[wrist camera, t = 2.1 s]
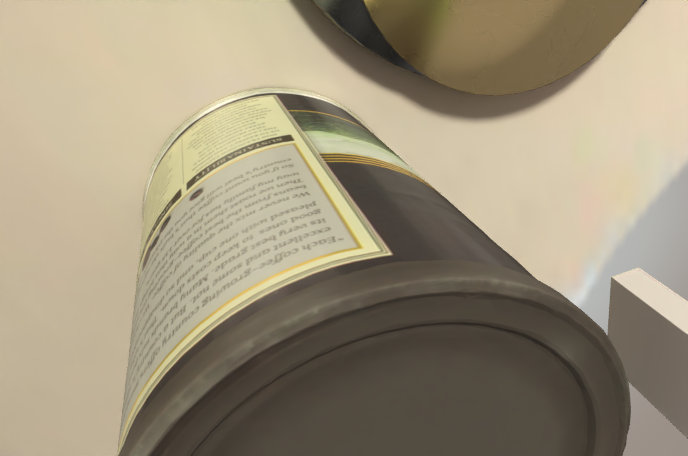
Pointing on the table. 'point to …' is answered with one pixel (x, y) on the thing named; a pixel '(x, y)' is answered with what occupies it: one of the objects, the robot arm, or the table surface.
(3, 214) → the table surface
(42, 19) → the table surface
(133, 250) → the table surface
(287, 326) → the coffee can
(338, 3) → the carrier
